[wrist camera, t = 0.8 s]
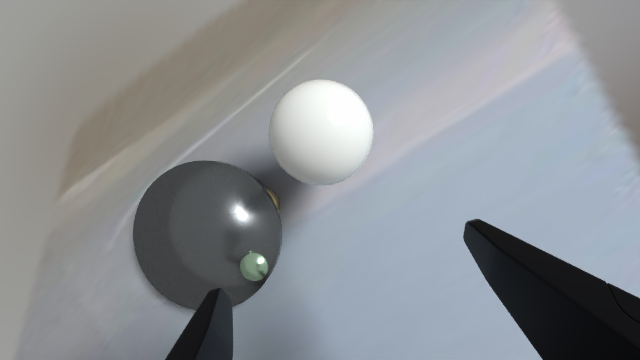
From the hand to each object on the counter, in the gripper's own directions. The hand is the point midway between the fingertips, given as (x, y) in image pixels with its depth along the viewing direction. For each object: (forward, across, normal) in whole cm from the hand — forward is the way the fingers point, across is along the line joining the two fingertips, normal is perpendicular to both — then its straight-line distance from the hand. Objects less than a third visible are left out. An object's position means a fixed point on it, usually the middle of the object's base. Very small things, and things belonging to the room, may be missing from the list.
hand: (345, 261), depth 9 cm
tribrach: (+13, +11, +8) cm, 19 cm away
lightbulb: (+15, -1, +4) cm, 16 cm away
